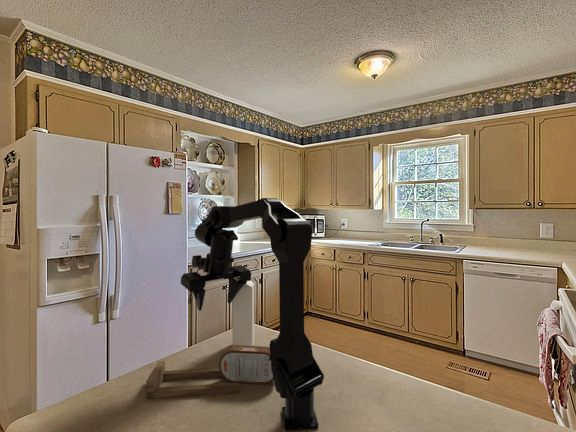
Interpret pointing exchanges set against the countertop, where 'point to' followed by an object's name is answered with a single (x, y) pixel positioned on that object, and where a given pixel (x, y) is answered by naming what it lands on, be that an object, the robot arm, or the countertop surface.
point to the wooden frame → (177, 391)
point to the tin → (246, 364)
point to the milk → (243, 316)
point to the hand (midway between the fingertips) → (214, 306)
